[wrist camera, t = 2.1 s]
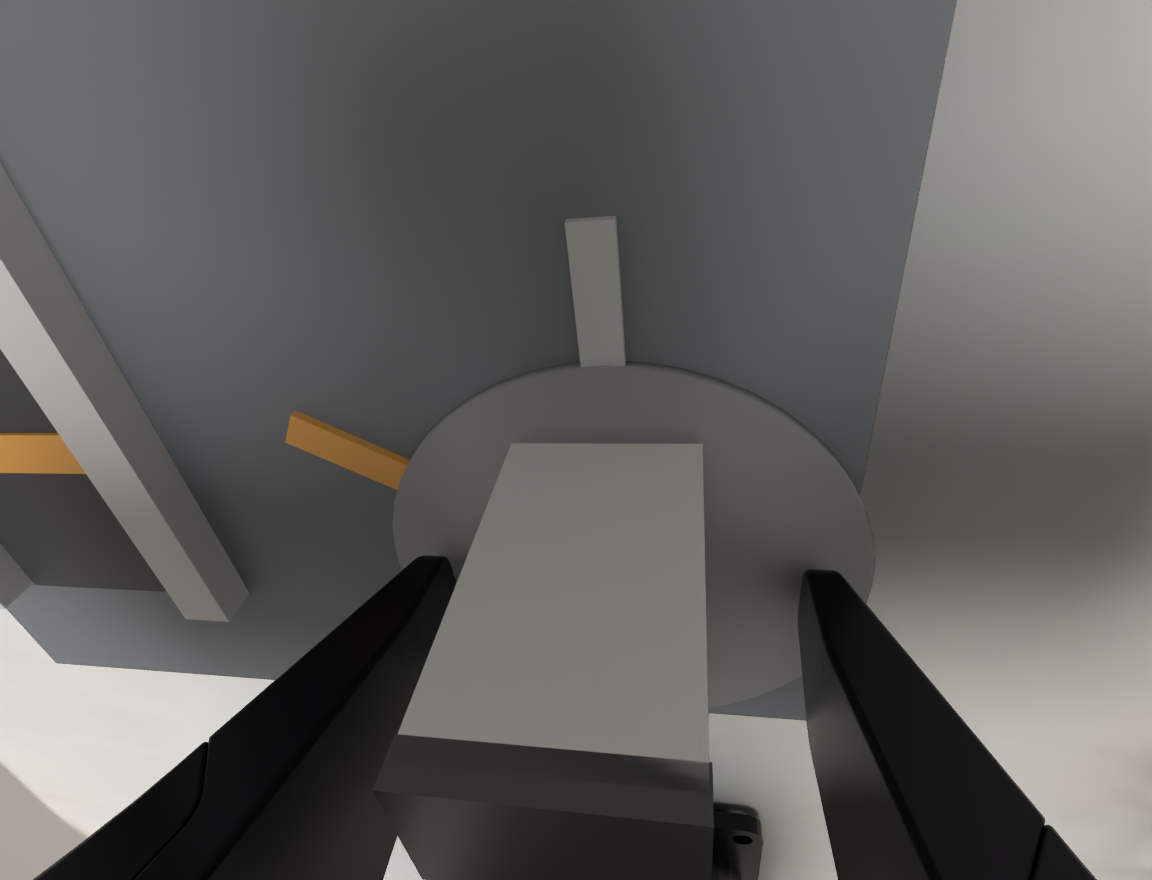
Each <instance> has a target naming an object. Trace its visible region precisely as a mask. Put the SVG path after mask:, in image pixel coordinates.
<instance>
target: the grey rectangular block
mask: <svg viewBox="0 0 1152 880" xmlns="http://www.w3.org/2000/svg"><path fill="white" fill-rule="evenodd" d="M372 791H373V792H374V794H375V796H376V798H377V800H378V801H379V803H380V805H381V807H382V808H383V810H384V812H385V814H386V815H387V817H388V819H389V821H390V823H391V824H392V826H393V828H394V830H395V831H396V833H397V835H398V837H399V839H400V840H401V842H402V844H403V846H404V847H405V849H406V851H407V853H408V854H409V856H410V858H411V860H412V862H413V863H414V865H415V867H416V869H417V870H418V872H419V874H420V876H421V878H422V879H425V880H712V857H713V833H714V816H713V775H712V762H709V733H708V684H707V635H706V585H705V536H704V487H703V444H591V443H511V446H510V448H509V451H508V453H507V456H506V458H505V461H504V464H503V466H502V469H501V471H500V474H499V476H498V479H497V481H496V484H495V486H494V489H493V492H492V494H491V497H490V499H489V502H488V504H487V507H486V509H485V512H484V515H483V517H482V520H481V522H480V525H479V527H478V530H477V532H476V535H475V537H474V540H473V543H472V545H471V548H470V550H469V553H468V555H467V558H466V560H465V563H464V566H463V568H462V571H461V573H460V576H459V578H458V581H457V583H456V586H455V588H454V591H453V594H452V596H451V599H450V601H449V604H448V606H447V609H446V611H445V614H444V617H443V619H442V622H441V624H440V627H439V629H438V632H437V634H436V637H435V639H434V642H433V645H432V647H431V650H430V652H429V655H428V657H427V660H426V662H425V665H424V668H423V670H422V673H421V675H420V678H419V680H418V683H417V685H416V688H415V690H414V693H413V696H412V698H411V701H410V703H409V706H408V708H407V711H406V713H405V716H404V719H403V721H402V724H401V726H400V729H399V731H398V734H395V735H394V737H393V740H392V742H391V745H390V747H389V750H388V752H387V755H386V757H385V760H384V762H383V765H382V767H381V770H380V773H379V775H378V778H377V780H376V783H375V785H374V788H373V790H372Z"/></svg>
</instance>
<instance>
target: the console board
mask: <svg viewBox="0 0 1152 880" xmlns="http://www.w3.org/2000/svg"><path fill="white" fill-rule="evenodd" d="M956 1H957V0H0V608H4V609H7V610H8V611H9V612H10V613H11V614H12V615H13V616H14V617H15V619H16V620H17V621H18V622H19V623H20V624H21V625H22V626H23V627H24V628H25V629H26V631H27V632H28V633H29V634H30V635H31V636H32V637H33V638H34V639H35V640H36V641H37V643H38V644H39V645H40V646H41V647H42V648H43V649H44V650H45V651H46V652H47V653H48V655H49V656H50V657H51V658H52V659H53V660H54V661H55V662H56V663H61V664H74V665H87V666H100V667H114V668H127V669H140V670H153V671H166V672H179V673H192V674H205V675H218V676H232V677H245V678H258V679H271V680H276V679H277V678H278V677H280V676H281V675H282V674H283V673H284V672H285V671H287V670H288V669H289V668H290V667H291V666H292V665H293V664H295V663H296V662H297V661H298V660H299V659H300V658H301V657H303V656H304V655H305V654H306V653H307V652H308V651H310V650H311V649H312V648H313V647H314V646H315V645H316V644H318V643H319V642H320V641H321V640H322V639H323V638H325V637H326V636H327V635H328V634H329V633H330V632H331V631H333V630H334V629H335V628H336V627H337V626H338V625H339V624H341V623H342V622H343V621H344V620H345V619H346V618H348V617H349V616H350V615H351V614H352V613H353V612H354V611H356V610H357V609H358V608H359V607H360V606H361V605H362V604H364V603H365V602H366V601H367V600H368V599H369V598H371V597H372V596H373V595H374V594H375V593H376V592H377V591H379V590H380V589H381V588H382V587H383V586H384V585H385V584H387V583H388V582H389V581H390V580H391V579H392V578H394V577H395V576H396V575H397V574H398V573H399V572H400V571H402V570H403V569H404V568H405V567H406V566H407V565H408V564H410V563H411V562H412V561H413V560H414V559H416V558H417V557H419V556H422V555H434V556H445V557H447V558H448V559H449V561H450V563H451V566H452V569H453V572H454V576H455V579H456V582H457V581H458V578H459V576H460V573H461V571H462V568H463V566H464V563H465V560H466V558H467V555H468V553H469V550H470V548H471V545H472V543H473V540H474V537H475V535H476V532H477V530H478V527H479V525H480V522H481V520H482V517H483V515H484V512H485V509H486V507H487V504H488V502H489V499H490V497H491V494H492V492H493V489H494V486H495V484H496V481H497V479H498V476H499V474H500V471H501V469H502V466H503V464H504V461H505V458H506V456H507V453H508V451H509V448H510V446H511V443H591V444H703V487H704V536H705V585H706V635H707V684H708V713H717V714H730V715H743V716H756V717H769V718H782V719H795V720H806V711H805V700H804V689H803V678H802V667H801V657H800V646H799V635H798V606H799V599H800V592H801V585H802V578H803V574H804V572H805V571H806V570H808V569H821V570H835V571H837V572H839V573H840V574H841V575H842V576H843V577H844V578H845V579H846V581H847V582H848V583H849V584H850V585H851V587H852V588H853V589H854V590H855V591H856V593H857V594H858V595H859V596H860V597H861V599H862V600H863V601H864V602H865V603H866V601H867V599H868V596H869V593H870V590H871V587H872V580H873V573H874V565H875V558H874V544H873V536H872V532H871V528H870V525H869V521H868V517H867V514H866V511H865V507H864V504H863V502H862V500H861V497H860V492H861V487H862V482H863V477H864V472H865V467H866V461H867V456H868V451H869V446H870V441H871V436H872V431H873V426H874V421H875V415H876V410H877V405H878V400H879V395H880V390H881V385H882V380H883V374H884V369H885V364H886V359H887V354H888V349H889V344H890V339H891V334H892V328H893V323H894V318H895V313H896V308H897V303H898V298H899V293H900V288H901V282H902V277H903V272H904V267H905V262H906V257H907V252H908V247H909V241H910V236H911V231H912V226H913V221H914V216H915V211H916V206H917V201H918V195H919V190H920V185H921V180H922V175H923V170H924V165H925V160H926V154H927V149H928V144H929V139H930V134H931V129H932V124H933V119H934V114H935V108H936V103H937V98H938V93H939V88H940V83H941V78H942V73H943V68H944V62H945V57H946V52H947V47H948V42H949V37H950V32H951V27H952V21H953V16H954V11H955V6H956Z"/></svg>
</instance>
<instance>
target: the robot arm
mask: <svg viewBox="0 0 1152 880" xmlns="http://www.w3.org/2000/svg"><path fill="white" fill-rule="evenodd" d="M456 583H457V582H456V579H455V576H454V572H453V569H452V566H451V563H450V561H449V559H448V558H447V557H445V556H434V555H422V556H419V557H417V558H416V559H414V560H413V561H412V562H411V563H410V564H408V565H407V566H406V567H405V568H404V569H403V570H402V571H400V572H399V573H398V574H397V575H396V576H395V577H394V578H392V579H391V580H390V581H389V582H388V583H387V584H385V585H384V586H383V587H382V588H381V589H380V590H379V591H377V592H376V593H375V594H374V595H373V596H372V597H371V598H369V599H368V600H367V601H366V602H365V603H364V604H362V605H361V606H360V607H359V608H358V609H357V610H356V611H354V612H353V613H352V614H351V615H350V616H349V617H348V618H346V619H345V620H344V621H343V622H342V623H341V624H339V625H338V626H337V627H336V628H335V629H334V630H333V631H331V632H330V633H329V634H328V635H327V636H326V637H325V638H323V639H322V640H321V641H320V642H319V643H318V644H316V645H315V646H314V647H313V648H312V649H311V650H310V651H308V652H307V653H306V654H305V655H304V656H303V657H301V658H300V659H299V660H298V661H297V662H296V663H295V664H293V665H292V666H291V667H290V668H289V669H288V670H287V671H285V672H284V673H283V674H282V675H281V676H280V677H278V678H277V679H276V680H275V681H274V682H273V683H272V684H270V685H269V686H268V687H267V688H266V689H265V690H264V691H262V692H261V693H260V694H259V695H258V696H257V697H255V698H254V699H253V700H252V701H251V702H250V703H249V704H247V705H246V706H245V707H244V708H243V709H242V710H241V711H239V712H238V713H237V714H236V715H235V716H234V717H232V718H231V719H230V720H229V721H228V722H227V723H226V724H224V725H223V726H222V727H221V728H220V729H219V730H218V731H216V732H215V733H214V734H213V735H212V736H211V737H210V738H209V742H204V743H202V744H201V745H200V746H199V747H198V748H197V749H195V750H194V751H193V752H192V753H191V754H190V755H188V756H187V757H186V758H185V759H184V760H183V761H182V762H180V763H179V764H178V765H177V766H176V767H175V768H173V769H172V770H171V771H170V772H169V773H167V774H166V775H165V776H164V777H163V778H161V779H160V780H159V781H158V782H157V783H155V784H154V785H153V786H152V787H151V788H150V789H148V790H147V791H146V792H145V793H144V794H142V795H141V796H140V797H139V798H138V799H136V800H135V801H134V802H133V803H132V804H130V805H129V806H128V807H126V808H125V809H124V810H123V811H121V812H120V813H119V814H118V815H116V816H115V817H114V818H112V819H111V820H110V821H109V822H107V823H106V824H105V825H104V826H102V827H101V828H100V829H98V830H97V831H96V832H95V833H93V834H92V835H91V836H89V837H88V838H87V839H86V840H85V841H83V842H82V843H80V844H79V845H78V846H77V847H75V848H74V849H73V850H71V851H70V852H69V853H67V854H66V855H65V856H63V857H62V858H61V859H59V860H58V861H57V862H55V863H54V864H53V865H52V866H50V867H49V868H48V869H46V870H45V871H44V872H42V873H41V874H40V875H38V876H37V877H36V878H34V879H33V880H383V878H384V875H385V872H386V868H387V865H388V862H389V859H390V856H391V853H392V850H393V847H394V844H395V841H396V838H397V833H396V831H395V830H394V828H393V826H392V824H391V823H390V821H389V819H388V817H387V815H386V814H385V812H384V810H383V808H382V807H381V805H380V803H379V801H378V800H377V798H376V796H375V794H374V792H373V791H372V790H373V788H374V785H375V783H376V780H377V778H378V775H379V773H380V770H381V767H382V765H383V762H384V760H385V757H386V755H387V752H388V750H389V747H390V745H391V742H392V740H393V737H394V735H395V734H398V731H399V729H400V726H401V724H402V721H403V719H404V716H405V713H406V711H407V708H408V706H409V703H410V701H411V698H412V696H413V693H414V690H415V688H416V685H417V683H418V680H419V678H420V675H421V673H422V670H423V668H424V665H425V662H426V660H427V657H428V655H429V652H430V650H431V647H432V645H433V642H434V639H435V637H436V634H437V632H438V629H439V627H440V624H441V622H442V619H443V617H444V614H445V611H446V609H447V606H448V604H449V601H450V599H451V596H452V594H453V591H454V588H455V586H456ZM798 635H799V646H800V657H801V667H802V678H803V689H804V700H805V711H806V721H807V729H808V737H809V743H810V749H811V754H812V760H813V764H814V769H815V774H816V778H817V783H818V788H819V792H820V797H821V802H822V806H823V811H824V815H825V820H826V825H827V829H828V834H829V839H830V843H831V848H832V853H833V857H834V862H835V867H836V871H837V876H838V880H1097V879H1096V878H1095V877H1094V876H1093V875H1092V874H1091V872H1090V871H1089V870H1088V869H1087V868H1086V867H1085V865H1084V864H1083V863H1082V862H1081V861H1080V860H1079V858H1078V857H1077V856H1076V855H1075V854H1074V852H1073V851H1072V850H1071V849H1070V848H1069V846H1068V845H1067V844H1066V843H1065V842H1064V840H1063V839H1062V838H1061V837H1060V835H1059V834H1058V833H1057V832H1056V831H1055V829H1054V828H1053V827H1052V826H1050V825H1045V826H1044V823H1045V819H1044V817H1043V815H1042V814H1041V813H1040V812H1039V811H1038V810H1037V808H1036V807H1035V806H1034V805H1033V804H1032V802H1031V801H1030V800H1029V799H1028V798H1027V796H1026V795H1025V794H1024V793H1023V792H1022V790H1021V789H1020V788H1019V787H1018V786H1017V784H1016V783H1015V782H1014V781H1013V780H1012V778H1011V777H1010V776H1009V775H1008V774H1007V772H1006V771H1005V770H1004V769H1003V768H1002V766H1001V765H1000V764H999V763H998V762H997V760H996V759H995V758H994V757H993V756H992V754H991V753H990V752H989V751H988V750H987V748H986V747H985V746H984V745H983V744H982V742H981V741H980V740H979V739H978V738H977V736H976V735H975V734H974V733H973V732H972V730H971V729H970V728H969V727H968V726H967V724H966V723H965V722H964V721H963V720H962V718H961V717H960V716H959V715H958V714H957V712H956V711H955V710H954V709H953V708H952V706H951V705H950V704H949V703H948V702H947V700H946V699H945V698H944V697H943V696H942V694H941V693H940V692H939V691H938V690H937V688H936V687H935V686H934V685H933V684H932V682H931V681H930V680H929V679H928V678H927V676H926V675H925V674H924V673H923V672H922V670H921V669H920V668H919V667H918V666H917V664H916V663H915V662H914V661H913V660H912V658H911V657H910V656H909V655H908V654H907V652H906V651H905V650H904V649H903V648H902V646H901V645H900V644H899V643H898V642H897V640H896V639H895V638H894V637H893V636H892V635H891V633H890V632H889V631H888V630H887V629H886V627H885V626H884V625H883V624H882V623H881V621H880V620H879V619H878V618H877V617H876V615H875V614H874V613H873V612H872V611H871V609H870V608H869V607H868V606H867V605H866V603H865V602H864V601H863V600H862V599H861V597H860V596H859V595H858V594H857V593H856V591H855V590H854V589H853V588H852V587H851V585H850V584H849V583H848V582H847V581H846V579H845V578H844V577H843V576H842V575H841V574H840V573H839V572H837V571H835V570H821V569H808V570H806V571H805V572H804V574H803V578H802V585H801V592H800V599H799V606H798ZM713 816H714V833H713V857H712V880H758V874H759V867H760V860H761V852H762V845H763V837H762V825H761V822H760V821H759V820H758V819H757V818H755V817H753V816H750V815H745V814H738V813H729V812H719V811H713Z"/></svg>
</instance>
